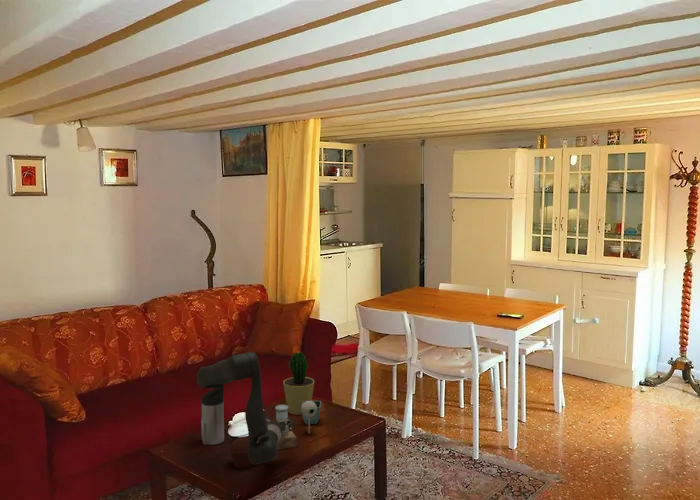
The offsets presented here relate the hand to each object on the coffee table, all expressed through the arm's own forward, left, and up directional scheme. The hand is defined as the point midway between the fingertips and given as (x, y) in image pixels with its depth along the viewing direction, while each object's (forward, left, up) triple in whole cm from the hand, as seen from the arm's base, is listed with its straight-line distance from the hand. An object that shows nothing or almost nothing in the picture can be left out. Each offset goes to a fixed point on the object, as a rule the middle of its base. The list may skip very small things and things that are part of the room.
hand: (278, 418), depth 242 cm
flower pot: (+22, +25, -14) cm, 37 cm away
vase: (+3, +7, -10) cm, 13 cm away
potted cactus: (+21, +42, -14) cm, 50 cm away
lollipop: (+17, +13, -14) cm, 26 cm away
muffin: (-16, -5, -15) cm, 22 cm away
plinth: (+3, +7, -14) cm, 16 cm away
